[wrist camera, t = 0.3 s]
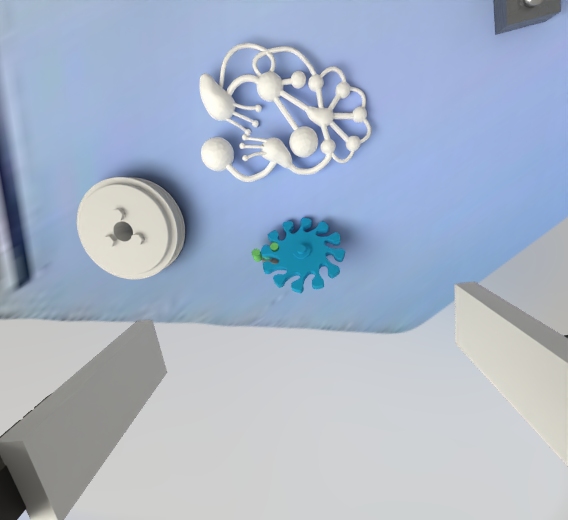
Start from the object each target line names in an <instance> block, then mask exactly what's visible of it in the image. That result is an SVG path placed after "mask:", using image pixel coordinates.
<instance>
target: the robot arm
mask: <svg viewBox="0 0 568 520" xmlns="http://www.w3.org/2000/svg"><path fill="white" fill-rule="evenodd" d="M455 325H456V326H455V329H456V345H457V346H458V347H459V348H460V349H461V350H462V351H463V352H464V353H465V355H467V357H468V358H469V359H470V360H471V361H472V362H473V363H474V364H475V365H476V367H477V368H478V369H479V370H480V371H481V372H482V373H483V374H484V375H485V376H486V377H487V378H488V380H489V381H490V382H491V383H492V384H493V385H494V386H495V387H496V388H497V390H498V391H499V392H500V393H501V394H502V395H503V396H504V397H505V398H506V399H507V400H508V401H509V403H510V404H511V405H512V406H513V407H514V408H515V409H516V410H517V411H518V412H519V413H520V415H521V416H522V417H523V418H524V419H525V420H526V421H527V422H528V423H529V425H530V426H531V427H532V428H533V429H534V430H535V431H536V432H537V433H538V434H539V435H540V437H541V438H542V439H543V440H544V441H545V442H546V443H547V444H548V445H549V446H550V447H551V449H552V450H553V451H554V452H555V453H556V454H557V455H558V456H559V457H560V458H561V460H562V461H563V462H564V463H565V464H566V465H567V466H568V335H564V336H563V335H561V334H560V333H558V332H556V331H555V330H553V329H551V328H550V327H548V326H546V325H545V324H543V323H542V322H540V321H538V320H537V319H535V318H533V317H532V316H530V315H528V314H527V313H525V312H523V311H522V310H520V309H519V308H517V307H515V306H513V305H512V304H510V303H509V302H507V301H505V300H504V299H502V298H501V297H499V296H497V295H496V294H494V293H492V292H491V291H489V290H487V289H486V288H484V287H482V286H481V285H479V284H478V283H476V282H467V283H458V284H455ZM166 373H167V371H166V367H165V364H164V360H163V356H162V352H161V349H160V346H159V342H158V338H157V335H156V331H155V328H154V324H153V321H152V320H144V321H136V322H135V323H134V324H133V325H132V326H130V327H129V328H128V329H127V330H126V331H125V332H123V333H122V334H121V335H120V336H119V337H118V338H116V339H115V340H114V341H113V342H112V343H111V344H109V345H108V346H107V347H106V348H105V349H104V350H102V351H101V352H100V353H99V354H98V355H97V356H95V357H94V358H93V359H92V360H91V361H90V362H88V363H87V364H86V365H85V366H84V367H83V368H81V369H80V370H79V371H78V372H77V373H76V374H74V375H73V376H72V377H71V378H70V379H69V380H67V381H66V382H65V383H64V384H63V385H62V386H60V387H59V388H58V389H57V390H56V391H55V392H53V393H52V394H50V395H49V396H47V397H46V398H45V399H44V400H43V401H42V402H40V403H39V404H38V405H37V406H36V407H34V410H31V411H30V412H28V413H27V414H26V415H25V416H24V417H23V419H22V420H19V421H18V422H17V423H16V424H14V425H13V426H12V427H11V428H10V429H9V430H7V431H6V432H5V433H4V434H3V435H2V436H0V520H17V519H18V518H19V517H20V516H21V514H22V513H23V512H24V511H25V510H26V511H27V513H28V515H29V517H30V519H31V520H64V518H65V517H66V516H67V514H68V513H69V511H70V510H71V508H72V507H73V506H74V504H75V503H76V502H77V500H78V499H79V497H80V496H81V494H82V493H83V492H84V490H85V489H86V487H87V486H88V484H89V483H90V482H91V480H92V479H93V477H94V476H95V474H96V473H97V472H98V470H99V469H100V467H101V466H102V465H103V463H104V462H105V460H106V459H107V457H108V456H109V455H110V453H111V452H112V450H113V449H114V447H115V446H116V445H117V443H118V442H119V440H120V439H121V437H122V436H123V434H124V433H125V432H126V430H127V429H128V427H129V426H130V424H131V423H132V422H133V420H134V419H135V418H136V416H137V415H138V413H139V412H140V410H141V409H142V408H143V406H144V405H145V403H146V402H147V400H148V399H149V398H150V396H151V395H152V393H153V392H154V390H155V389H156V387H157V386H158V385H159V383H160V382H161V380H162V379H163V378H164V376H165V375H166Z"/></svg>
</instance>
